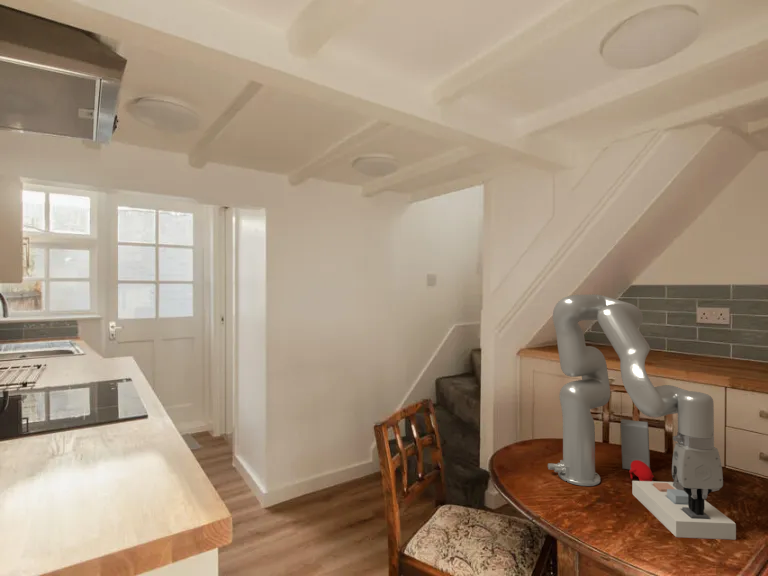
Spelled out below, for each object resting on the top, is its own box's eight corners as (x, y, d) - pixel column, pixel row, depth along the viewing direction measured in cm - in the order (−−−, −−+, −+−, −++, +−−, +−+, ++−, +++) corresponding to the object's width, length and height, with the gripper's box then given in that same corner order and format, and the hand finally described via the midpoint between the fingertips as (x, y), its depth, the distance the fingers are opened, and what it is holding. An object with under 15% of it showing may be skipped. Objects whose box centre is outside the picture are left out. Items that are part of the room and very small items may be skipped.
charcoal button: (692, 527, 107) (692, 515, 107) (682, 518, 111) (682, 507, 111) (708, 527, 107) (708, 516, 107) (698, 519, 111) (698, 507, 111)
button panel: (676, 537, 106) (676, 521, 106) (632, 493, 128) (632, 480, 128) (735, 539, 105) (735, 523, 105) (681, 495, 126) (681, 482, 126)
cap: (622, 465, 141) (627, 462, 136) (639, 459, 141) (645, 455, 136) (636, 490, 136) (642, 488, 131) (654, 484, 136) (660, 481, 131)
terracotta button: (660, 499, 121) (660, 489, 121) (653, 492, 125) (653, 482, 125) (675, 500, 121) (675, 489, 121) (667, 493, 125) (667, 483, 125)
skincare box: (649, 467, 146) (649, 421, 146) (649, 474, 140) (649, 427, 140) (621, 461, 151) (621, 417, 151) (620, 469, 145) (620, 423, 145)
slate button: (675, 507, 114) (675, 496, 114) (667, 499, 118) (666, 489, 118) (691, 507, 114) (691, 496, 114) (682, 500, 118) (682, 489, 118)
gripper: (673, 445, 106) (674, 519, 106) (737, 447, 105) (738, 521, 105) (657, 435, 113) (657, 503, 113) (716, 436, 112) (717, 505, 112)
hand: (696, 511), depth 109 cm, fingers closed
